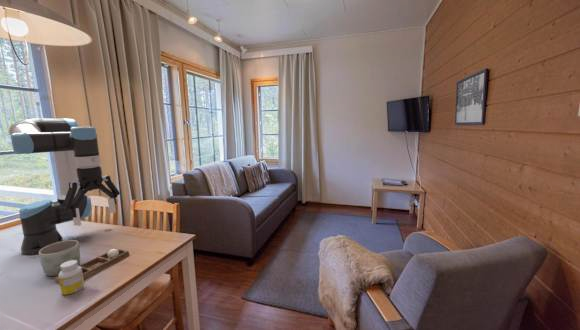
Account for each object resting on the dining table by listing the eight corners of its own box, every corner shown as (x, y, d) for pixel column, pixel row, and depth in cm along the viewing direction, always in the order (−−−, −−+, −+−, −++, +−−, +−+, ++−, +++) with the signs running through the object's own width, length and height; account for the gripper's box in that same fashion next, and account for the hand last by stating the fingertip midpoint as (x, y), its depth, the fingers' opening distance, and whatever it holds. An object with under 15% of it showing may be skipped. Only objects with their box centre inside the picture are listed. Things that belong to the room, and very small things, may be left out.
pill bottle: (71, 286, 95) (66, 258, 93) (89, 285, 95) (84, 258, 93) (57, 298, 88) (51, 268, 86) (76, 297, 89) (71, 268, 87)
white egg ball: (105, 259, 112) (104, 250, 111) (115, 254, 116) (113, 246, 115) (112, 261, 111) (111, 252, 110) (121, 256, 115) (120, 247, 114)
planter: (48, 283, 97) (44, 257, 95) (38, 273, 103) (34, 249, 101) (87, 267, 107) (83, 244, 105) (76, 259, 113) (72, 237, 112)
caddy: (55, 283, 96) (54, 277, 96) (116, 252, 119) (115, 248, 118) (70, 288, 94) (69, 282, 93) (129, 255, 116) (128, 251, 116)
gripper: (57, 173, 83) (67, 232, 86) (125, 162, 106) (131, 209, 110) (42, 172, 85) (52, 229, 88) (112, 161, 108) (118, 207, 112)
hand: (96, 218), depth 99 cm, fingers open, 13 cm apart
